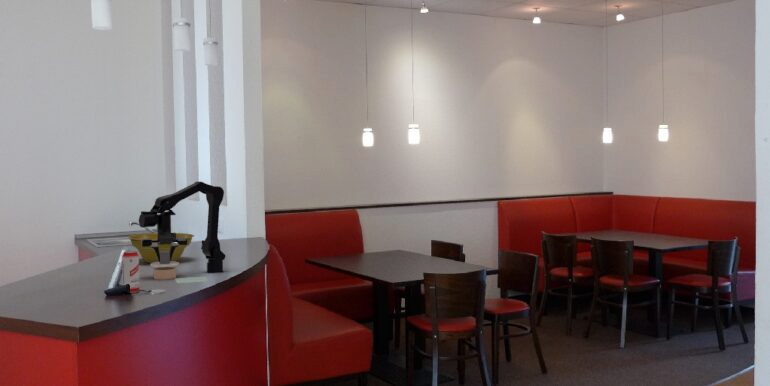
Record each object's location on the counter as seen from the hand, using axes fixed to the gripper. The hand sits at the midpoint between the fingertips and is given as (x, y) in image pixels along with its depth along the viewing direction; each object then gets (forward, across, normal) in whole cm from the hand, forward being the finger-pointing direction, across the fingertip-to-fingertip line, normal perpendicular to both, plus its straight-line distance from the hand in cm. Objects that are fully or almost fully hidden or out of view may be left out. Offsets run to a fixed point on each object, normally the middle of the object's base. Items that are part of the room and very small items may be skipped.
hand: (164, 261), depth 316 cm
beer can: (+8, -15, -29) cm, 34 cm away
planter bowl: (+8, +3, +56) cm, 57 cm away
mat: (+8, +10, -11) cm, 17 cm away
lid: (+1, 0, 0) cm, 1 cm away
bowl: (+8, 0, 0) cm, 8 cm away
